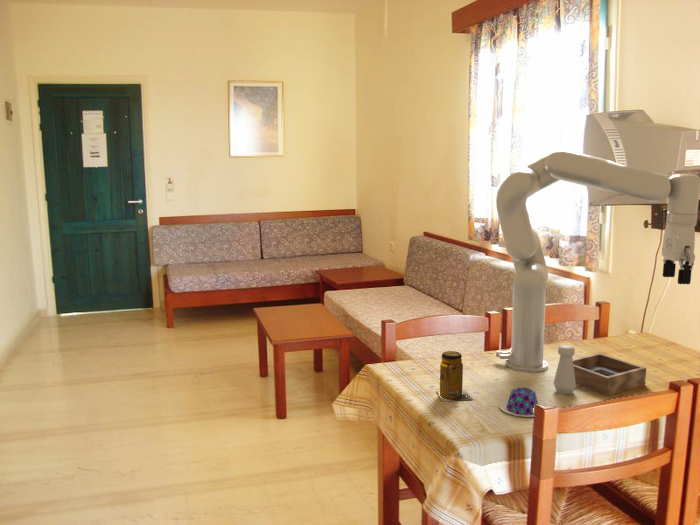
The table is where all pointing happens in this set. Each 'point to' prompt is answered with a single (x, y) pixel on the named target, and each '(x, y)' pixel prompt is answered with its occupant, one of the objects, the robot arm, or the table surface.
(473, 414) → the table surface
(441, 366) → the condiment
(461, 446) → the table surface
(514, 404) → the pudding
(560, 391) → the salt shaker
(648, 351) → the table surface
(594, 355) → the bore box
